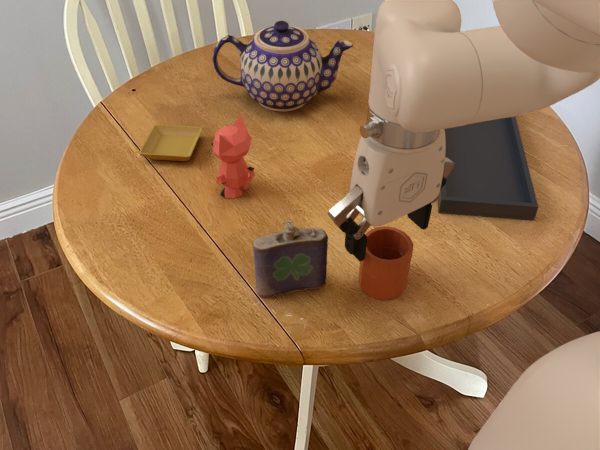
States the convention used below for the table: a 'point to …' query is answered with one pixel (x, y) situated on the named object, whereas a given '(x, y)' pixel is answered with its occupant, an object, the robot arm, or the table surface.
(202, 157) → the table surface
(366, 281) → the flower pot
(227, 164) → the cat figurine
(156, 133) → the yellow square dish
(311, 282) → the flask
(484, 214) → the tray
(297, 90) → the teapot
